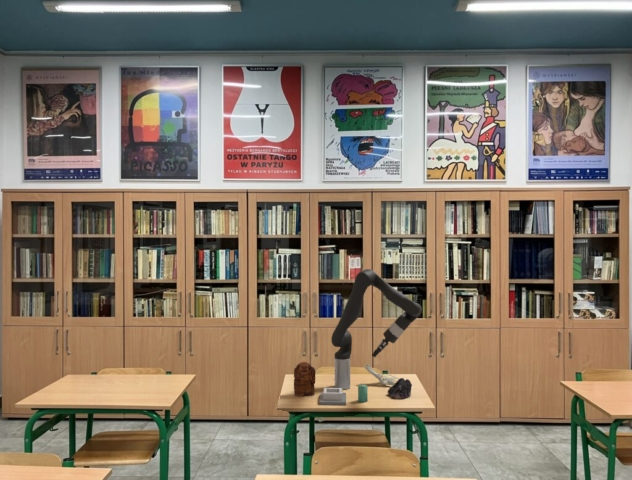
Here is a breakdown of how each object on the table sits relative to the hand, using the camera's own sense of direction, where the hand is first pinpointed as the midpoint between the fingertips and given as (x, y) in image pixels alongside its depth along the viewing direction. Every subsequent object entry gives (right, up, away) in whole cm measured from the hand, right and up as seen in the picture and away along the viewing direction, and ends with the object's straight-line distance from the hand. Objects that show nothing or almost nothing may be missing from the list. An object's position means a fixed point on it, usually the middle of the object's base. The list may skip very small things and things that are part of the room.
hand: (374, 354), depth 265 cm
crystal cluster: (+15, -25, +9) cm, 31 cm away
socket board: (-22, -25, +1) cm, 33 cm away
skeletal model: (+10, -25, +31) cm, 42 cm away
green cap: (-6, -25, -1) cm, 25 cm away
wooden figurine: (-38, -25, +11) cm, 47 cm away
